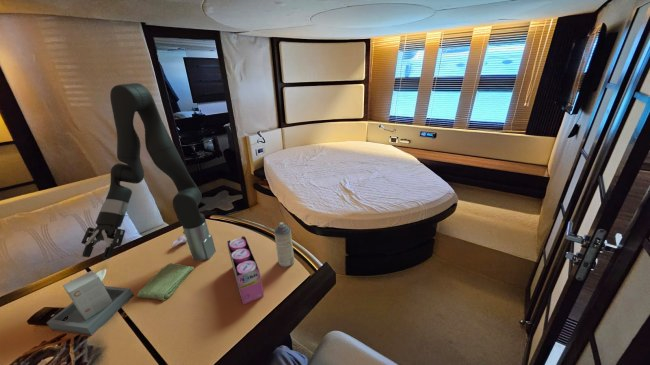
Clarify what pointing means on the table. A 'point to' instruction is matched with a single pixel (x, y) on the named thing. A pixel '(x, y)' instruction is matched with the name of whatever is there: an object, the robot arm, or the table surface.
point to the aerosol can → (284, 245)
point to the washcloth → (165, 282)
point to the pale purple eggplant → (180, 240)
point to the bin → (92, 324)
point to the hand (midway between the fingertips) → (95, 257)
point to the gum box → (245, 270)
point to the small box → (88, 294)
